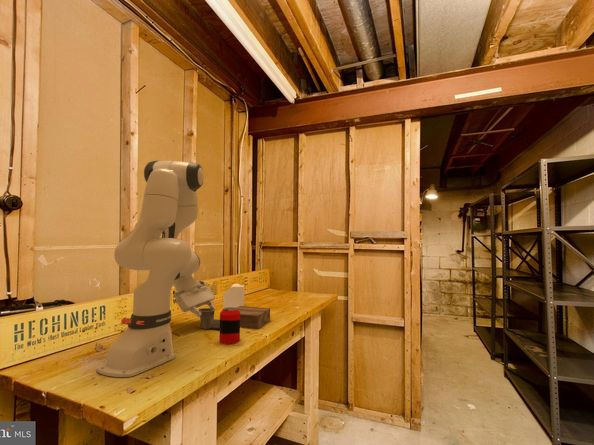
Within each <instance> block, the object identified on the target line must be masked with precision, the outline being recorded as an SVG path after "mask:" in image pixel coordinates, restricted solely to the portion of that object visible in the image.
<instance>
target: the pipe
mask: <svg viewBox="0 0 594 445" xmlns="http://www.w3.org/2000/svg"><path fill="white" fill-rule="evenodd" d="M198 311H201V312H202V316H200V317H199V318H200V328H201V329H203V330H207V329H209V330H210V329H213V330H215V329H216V330H220V319H215V311H216V309H215V310H214V309H211V308H210V307H205V308H199V309H198Z"/></svg>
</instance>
